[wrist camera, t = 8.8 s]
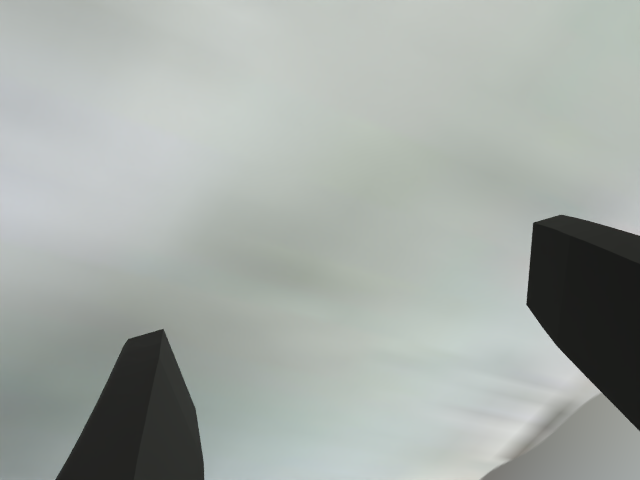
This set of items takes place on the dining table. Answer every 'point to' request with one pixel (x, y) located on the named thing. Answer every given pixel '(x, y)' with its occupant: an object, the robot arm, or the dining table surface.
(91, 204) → the dining table surface
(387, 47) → the dining table surface
